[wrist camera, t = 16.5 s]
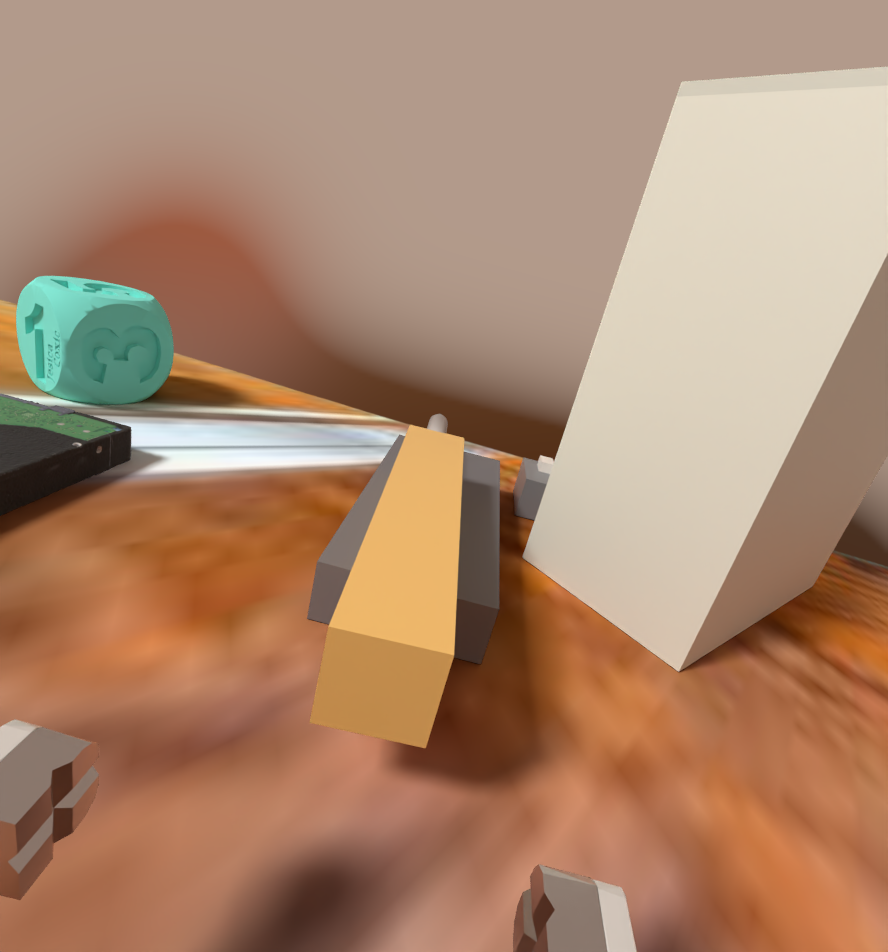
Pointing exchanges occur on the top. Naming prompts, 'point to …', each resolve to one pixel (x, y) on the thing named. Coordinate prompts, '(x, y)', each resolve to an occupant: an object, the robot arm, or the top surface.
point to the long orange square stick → (399, 600)
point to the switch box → (531, 486)
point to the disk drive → (53, 449)
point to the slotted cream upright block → (732, 366)
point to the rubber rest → (474, 552)
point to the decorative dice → (93, 340)
